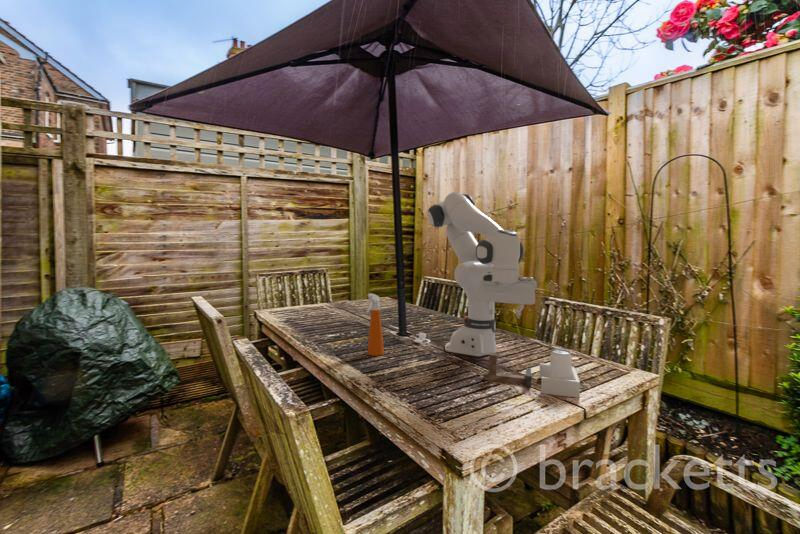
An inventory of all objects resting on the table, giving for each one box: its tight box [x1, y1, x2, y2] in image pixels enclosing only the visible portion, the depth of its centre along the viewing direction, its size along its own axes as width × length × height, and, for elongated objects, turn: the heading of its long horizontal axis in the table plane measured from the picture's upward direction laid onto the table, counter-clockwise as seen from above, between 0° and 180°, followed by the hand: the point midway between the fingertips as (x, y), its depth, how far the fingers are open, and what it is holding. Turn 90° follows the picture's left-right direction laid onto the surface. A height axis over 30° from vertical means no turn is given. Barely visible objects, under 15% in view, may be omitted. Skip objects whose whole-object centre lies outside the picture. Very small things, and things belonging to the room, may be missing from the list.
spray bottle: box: [365, 293, 385, 357], centre depth 154 cm, size 7×11×26 cm, turn 155°
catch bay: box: [538, 362, 581, 399], centre depth 122 cm, size 11×14×5 cm
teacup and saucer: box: [413, 332, 431, 345], centre depth 175 cm, size 9×8×4 cm
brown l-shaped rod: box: [483, 352, 532, 389], centre depth 127 cm, size 16×8×9 cm, turn 72°
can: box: [549, 348, 573, 380], centre depth 121 cm, size 6×6×12 cm
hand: (504, 314), depth 131 cm, fingers open, 8 cm apart
